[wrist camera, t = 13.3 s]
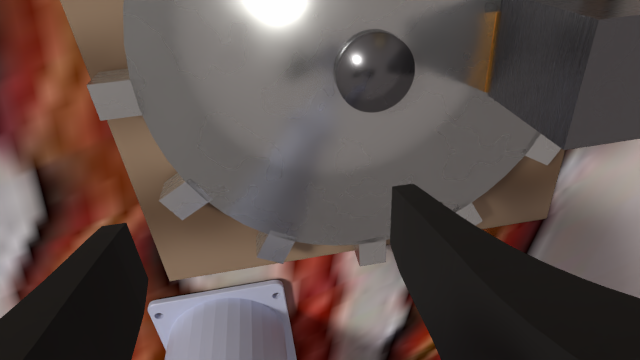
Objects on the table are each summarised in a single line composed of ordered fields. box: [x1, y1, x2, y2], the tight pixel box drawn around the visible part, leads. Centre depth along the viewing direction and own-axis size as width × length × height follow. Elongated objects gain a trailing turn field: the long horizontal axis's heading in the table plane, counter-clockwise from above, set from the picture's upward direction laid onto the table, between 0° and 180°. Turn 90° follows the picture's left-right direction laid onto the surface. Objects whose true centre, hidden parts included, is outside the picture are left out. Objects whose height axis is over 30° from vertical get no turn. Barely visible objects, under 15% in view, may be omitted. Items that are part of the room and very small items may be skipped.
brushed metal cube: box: [488, 0, 640, 150], centre depth 14 cm, size 4×3×5 cm
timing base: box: [60, 0, 565, 281], centre depth 18 cm, size 22×22×1 cm
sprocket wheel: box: [87, 0, 561, 266], centre depth 15 cm, size 21×21×6 cm
